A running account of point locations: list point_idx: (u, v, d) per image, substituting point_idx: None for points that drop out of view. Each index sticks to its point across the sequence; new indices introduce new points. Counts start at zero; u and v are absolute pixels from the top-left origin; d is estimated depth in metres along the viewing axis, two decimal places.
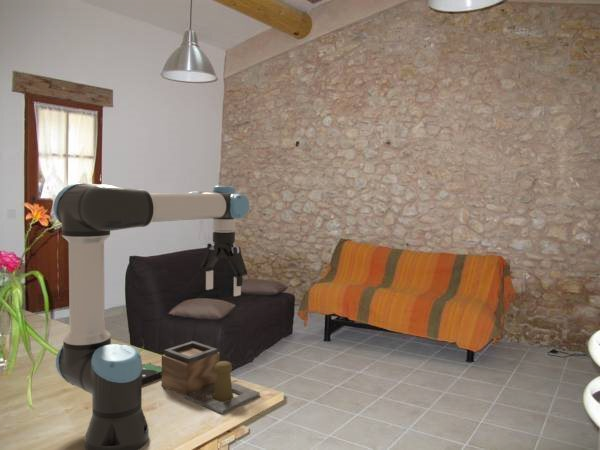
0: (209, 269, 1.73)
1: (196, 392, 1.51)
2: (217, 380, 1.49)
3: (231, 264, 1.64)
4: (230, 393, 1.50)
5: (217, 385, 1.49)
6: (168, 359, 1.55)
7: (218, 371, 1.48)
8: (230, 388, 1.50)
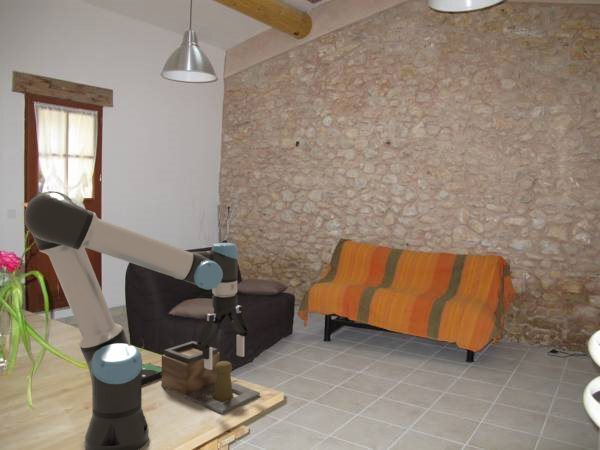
0: (241, 334, 1.55)
1: (196, 392, 1.51)
2: (217, 380, 1.49)
3: None
4: (230, 393, 1.50)
5: (217, 385, 1.49)
6: (168, 359, 1.55)
7: (218, 371, 1.48)
8: (230, 388, 1.50)
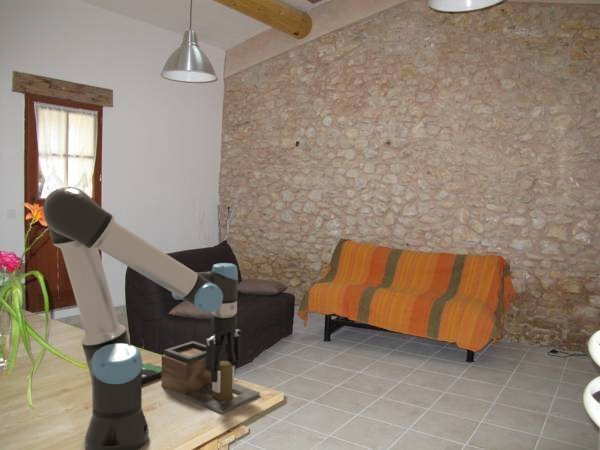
0: (231, 363, 1.53)
1: (196, 392, 1.51)
2: None
3: None
4: (230, 393, 1.50)
5: None
6: (168, 359, 1.55)
7: None
8: (230, 388, 1.50)
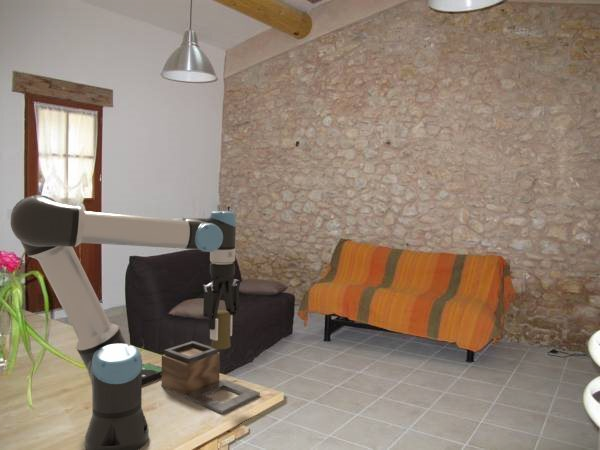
0: None
1: (196, 392, 1.51)
2: None
3: None
4: (228, 342, 1.49)
5: None
6: (168, 359, 1.55)
7: None
8: (228, 337, 1.49)
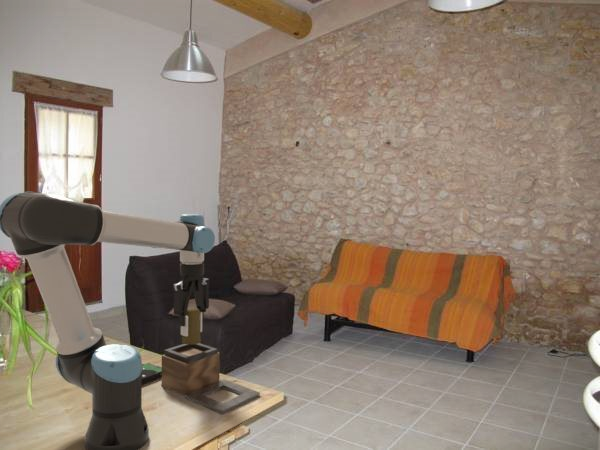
0: (199, 310, 1.60)
1: (196, 392, 1.51)
2: None
3: None
4: (198, 337, 1.57)
5: None
6: (168, 359, 1.55)
7: None
8: (198, 333, 1.57)
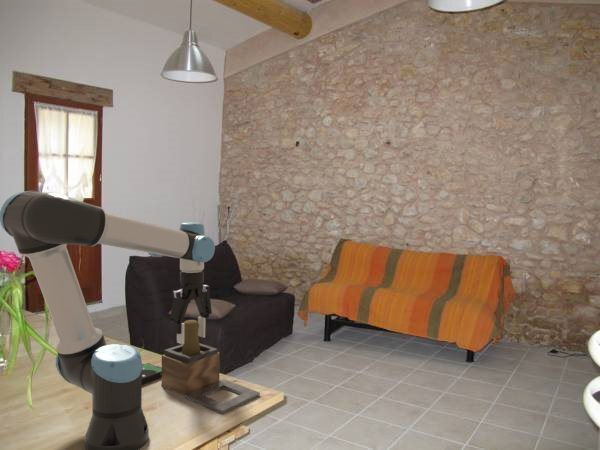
0: (202, 315, 1.62)
1: (196, 392, 1.51)
2: (185, 337, 1.57)
3: None
4: (197, 349, 1.58)
5: (185, 342, 1.57)
6: (168, 359, 1.55)
7: (185, 329, 1.56)
8: (197, 345, 1.58)
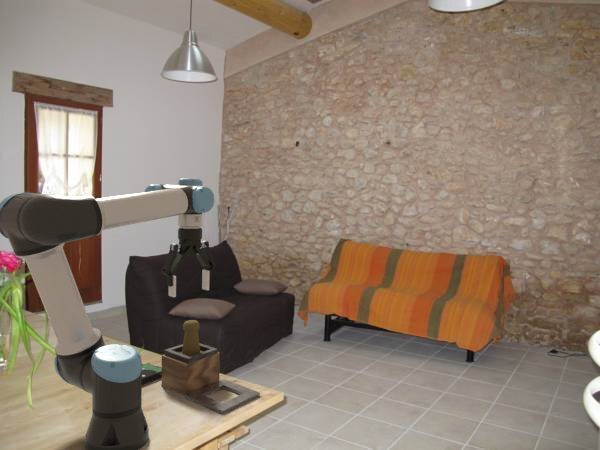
0: (207, 268, 1.62)
1: (196, 392, 1.51)
2: (185, 337, 1.57)
3: None
4: (197, 350, 1.58)
5: (185, 342, 1.57)
6: (168, 359, 1.55)
7: (186, 328, 1.56)
8: (197, 345, 1.58)
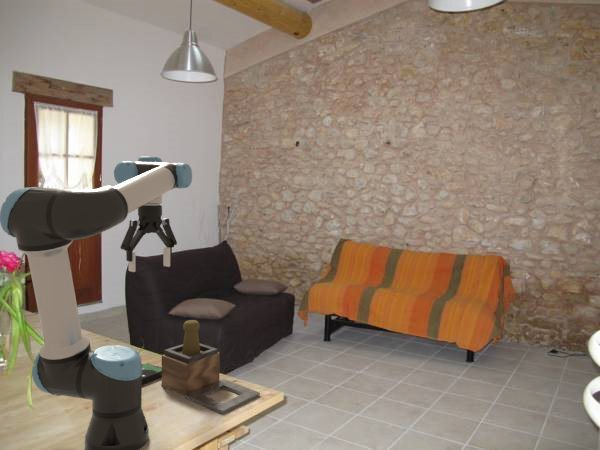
0: (168, 245, 1.67)
1: (196, 392, 1.51)
2: (185, 337, 1.57)
3: None
4: (197, 350, 1.58)
5: (185, 342, 1.57)
6: (168, 359, 1.55)
7: (186, 328, 1.56)
8: (197, 345, 1.58)
